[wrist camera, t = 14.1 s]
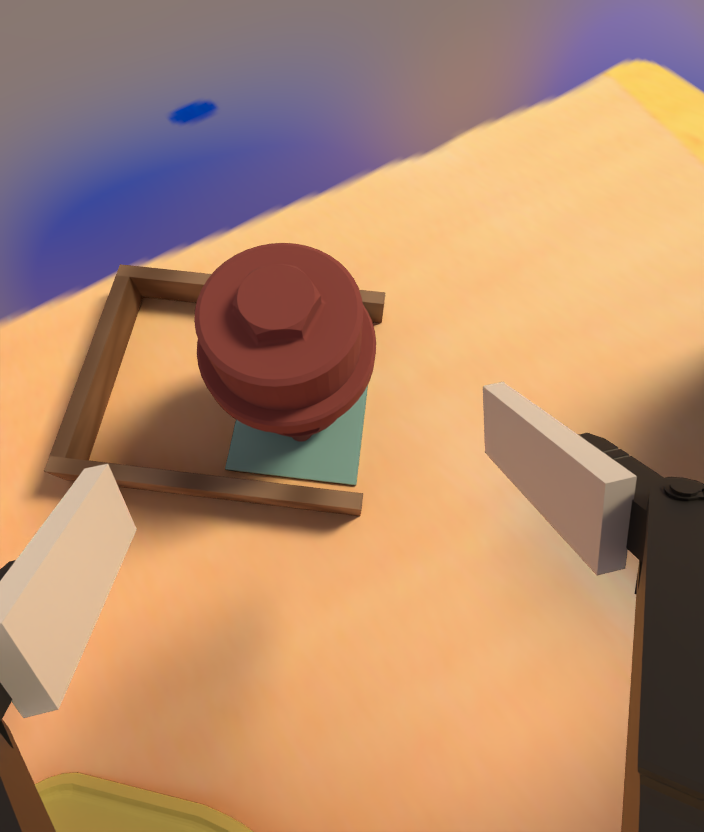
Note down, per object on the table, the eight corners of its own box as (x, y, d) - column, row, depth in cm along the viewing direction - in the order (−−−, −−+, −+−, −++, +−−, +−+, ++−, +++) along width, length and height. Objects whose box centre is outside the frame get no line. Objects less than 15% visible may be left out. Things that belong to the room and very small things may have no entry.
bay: (382, 311, 36) (385, 292, 34) (360, 515, 30) (361, 509, 28) (134, 285, 37) (120, 264, 34) (66, 480, 31) (43, 471, 29)
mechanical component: (204, 385, 33) (317, 315, 36) (280, 494, 31) (397, 412, 33) (130, 276, 22) (303, 184, 24) (241, 436, 19) (424, 315, 21)
